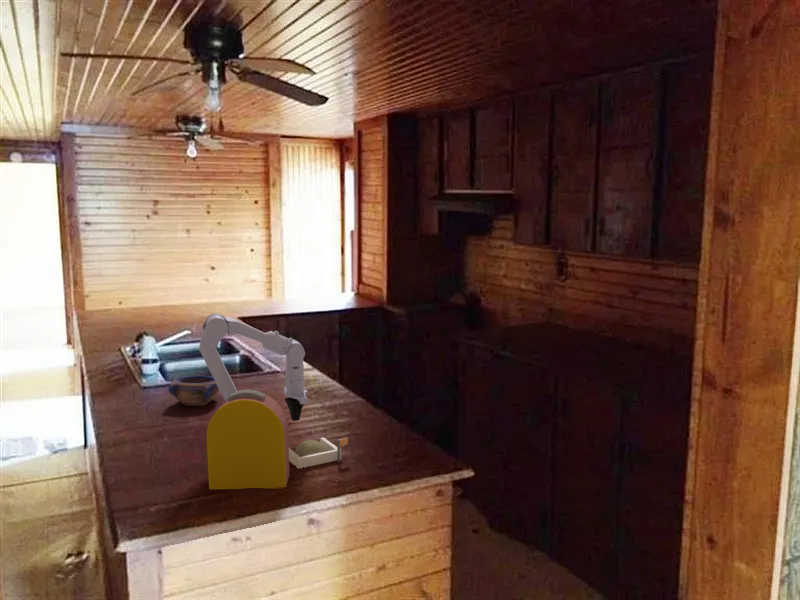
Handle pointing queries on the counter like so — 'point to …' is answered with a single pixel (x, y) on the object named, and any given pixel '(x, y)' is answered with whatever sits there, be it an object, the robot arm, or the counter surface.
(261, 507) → the counter surface
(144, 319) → the counter surface
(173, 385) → the bowl
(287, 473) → the yellow arched block
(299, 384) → the robot arm
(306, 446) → the sea urchin shell
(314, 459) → the shallow white tray
